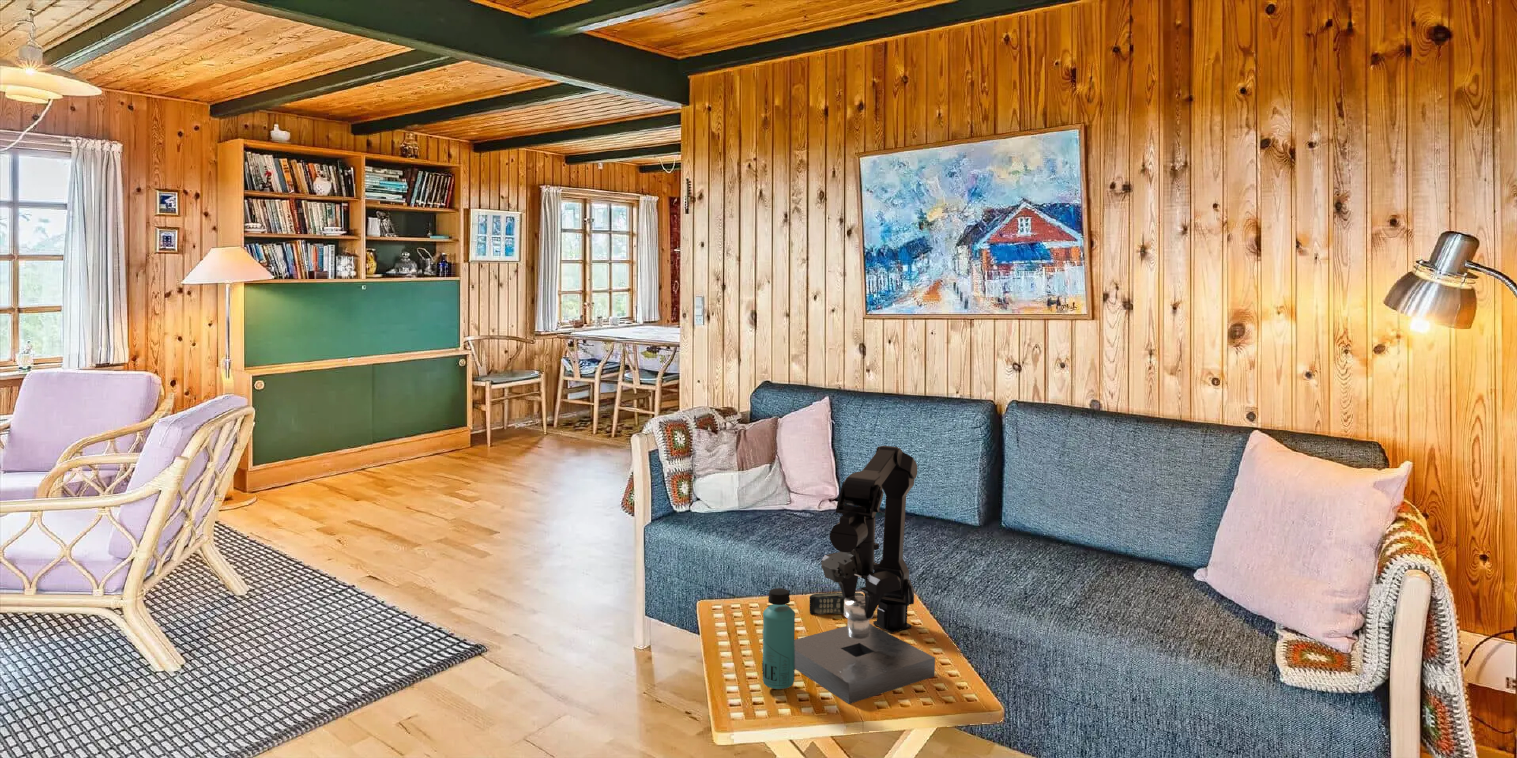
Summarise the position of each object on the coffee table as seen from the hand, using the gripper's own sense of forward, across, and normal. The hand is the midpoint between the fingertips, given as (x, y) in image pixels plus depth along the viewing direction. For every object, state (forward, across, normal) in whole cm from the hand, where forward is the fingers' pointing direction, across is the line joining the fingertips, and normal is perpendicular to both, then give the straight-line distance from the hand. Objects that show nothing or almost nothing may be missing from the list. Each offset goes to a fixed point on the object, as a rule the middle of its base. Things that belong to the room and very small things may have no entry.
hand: (858, 612), depth 179 cm
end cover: (+5, 0, 0) cm, 5 cm away
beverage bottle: (+12, -1, -19) cm, 23 cm away
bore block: (+12, 0, 0) cm, 12 cm away
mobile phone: (+12, -26, +16) cm, 33 cm away
